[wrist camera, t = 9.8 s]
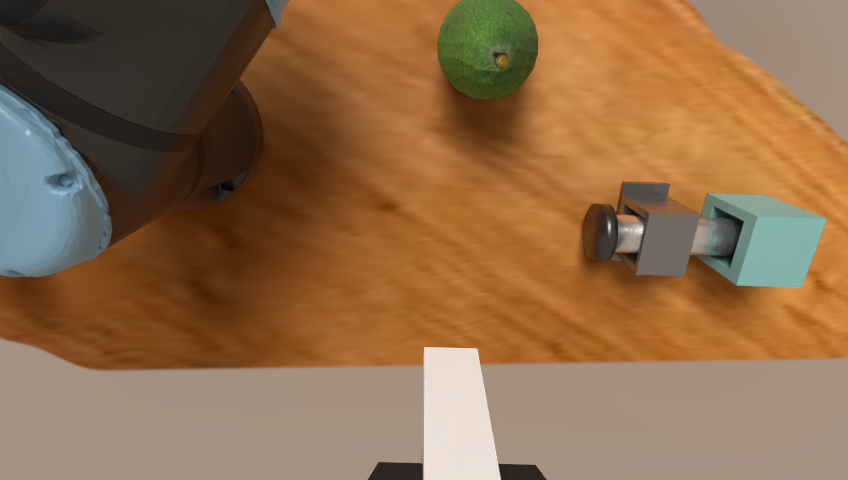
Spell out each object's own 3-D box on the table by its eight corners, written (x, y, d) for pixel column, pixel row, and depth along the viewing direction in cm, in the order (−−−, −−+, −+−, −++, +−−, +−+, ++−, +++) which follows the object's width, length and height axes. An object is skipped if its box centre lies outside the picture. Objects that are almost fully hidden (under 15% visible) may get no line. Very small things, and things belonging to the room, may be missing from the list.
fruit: (531, 5, 41) (571, -17, 29) (516, 98, 43) (547, 111, 32) (441, -5, 40) (446, -30, 29) (431, 90, 43) (433, 100, 32)
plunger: (579, 248, 48) (598, 271, 43) (588, 196, 46) (609, 213, 41) (738, 253, 48) (776, 277, 43) (754, 201, 46) (796, 219, 41)
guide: (607, 258, 49) (633, 286, 43) (622, 181, 46) (652, 200, 40) (649, 259, 49) (681, 287, 43) (666, 183, 46) (704, 201, 40)
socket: (691, 253, 49) (736, 285, 42) (707, 193, 47) (757, 216, 40) (747, 254, 49) (801, 287, 42) (766, 194, 47) (826, 218, 40)
